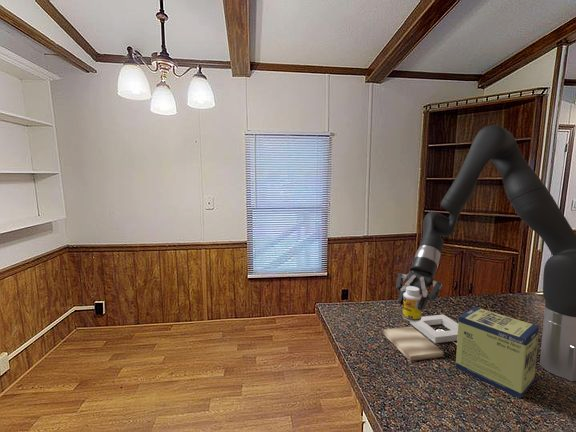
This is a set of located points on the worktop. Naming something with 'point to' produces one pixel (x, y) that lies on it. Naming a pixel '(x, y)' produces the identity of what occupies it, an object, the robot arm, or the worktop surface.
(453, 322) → the collar stand
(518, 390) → the protein box
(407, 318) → the supplement bottle
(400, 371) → the worktop surface
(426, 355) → the birch board
